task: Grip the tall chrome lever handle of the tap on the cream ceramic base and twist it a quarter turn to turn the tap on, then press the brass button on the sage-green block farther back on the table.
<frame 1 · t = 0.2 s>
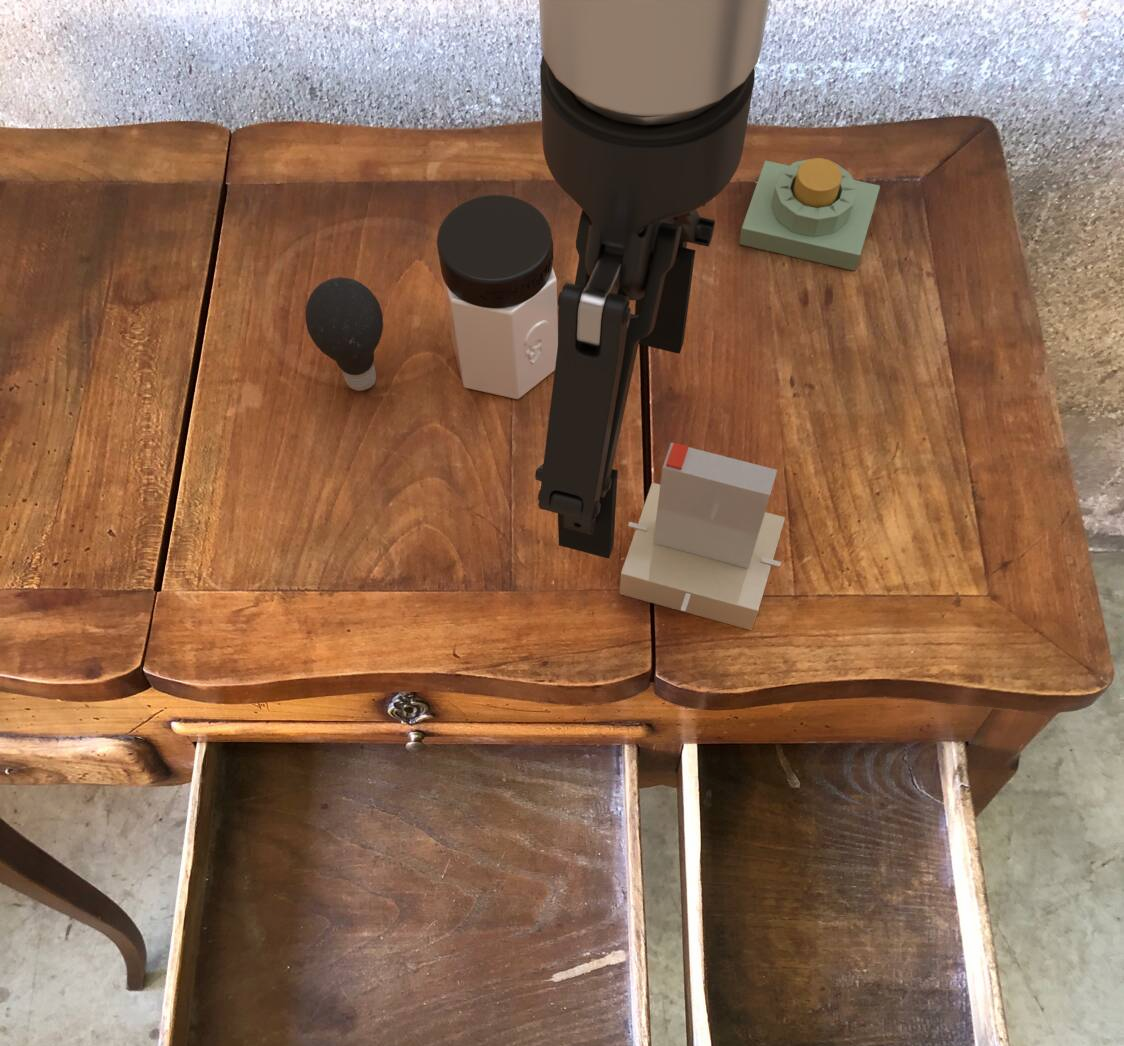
hand: (623, 441, 56), 21 cm above the table, tool pointing down, fingers open, 13 cm apart
button: (817, 183, 85), point 4 cm above the table, slide at 0.1 cm
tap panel: (699, 566, 77), on the table
jar: (505, 358, 85), on the table
tap handle: (711, 507, 70), point 8 cm above the table, hinge at 0.0°
button block: (807, 223, 89), on the table
light bulb: (363, 386, 84), on the table
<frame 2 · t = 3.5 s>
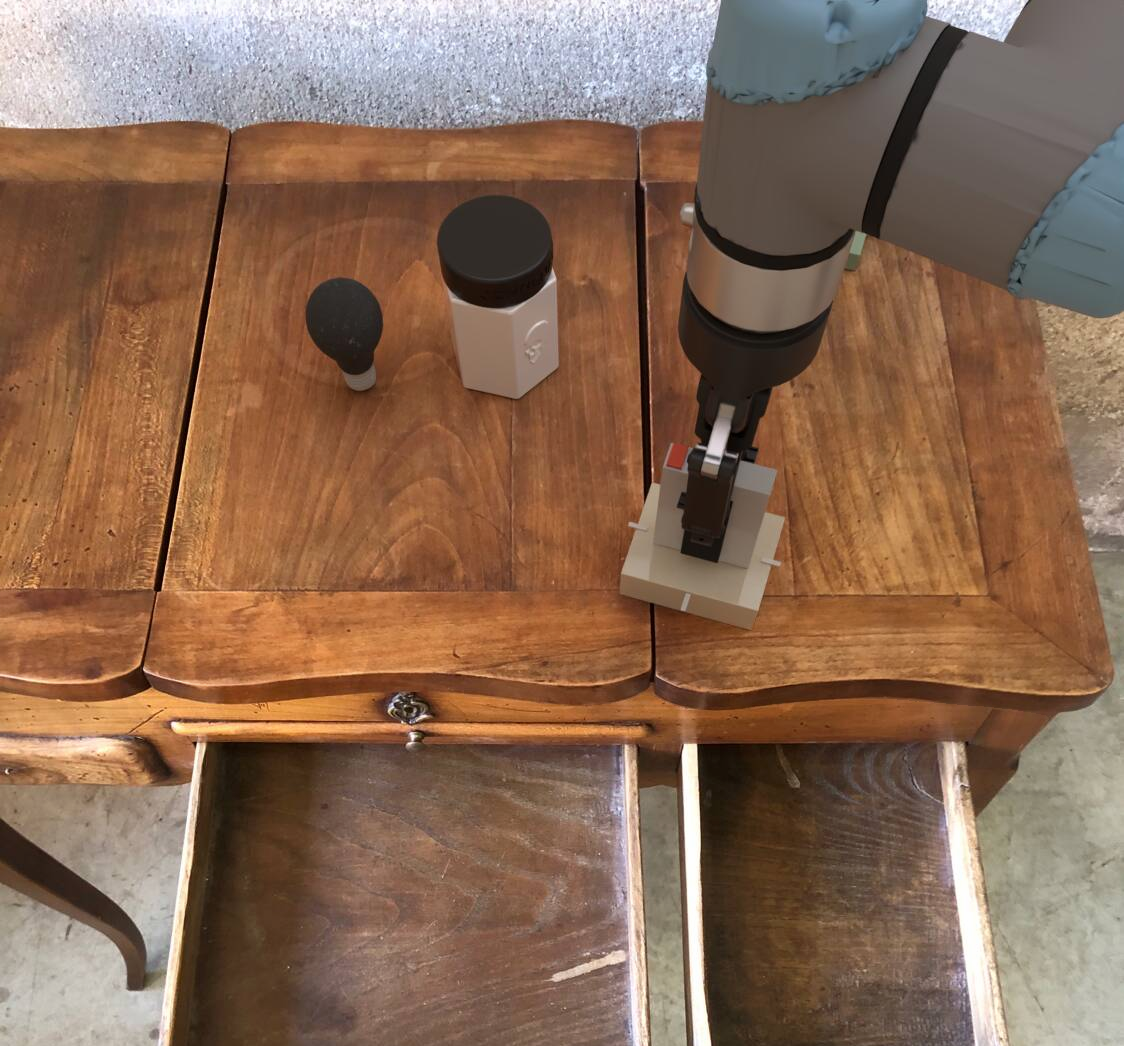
hand: (705, 537, 74), 4 cm above the table, tool pointing down, fingers closed on tap handle, 2 cm apart
tap handle: (711, 507, 70), point 8 cm above the table, hinge at 0.0°, touching gripper
everything else where it was.
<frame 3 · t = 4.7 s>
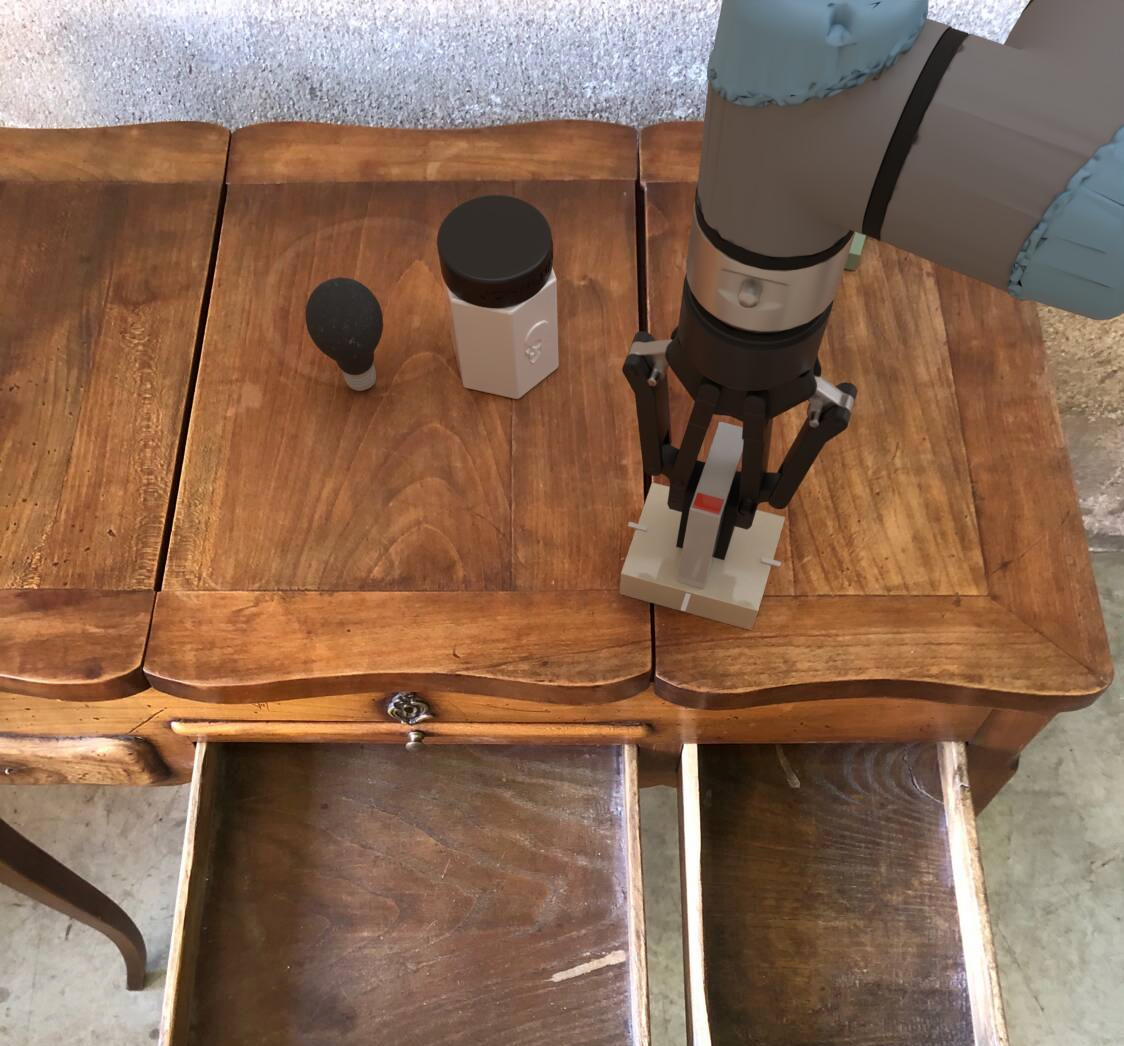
hand: (705, 537, 74), 4 cm above the table, tool pointing down, fingers closed on tap handle, 2 cm apart
tap handle: (711, 507, 70), point 8 cm above the table, hinge at 89.4°, touching gripper
everything else where it was.
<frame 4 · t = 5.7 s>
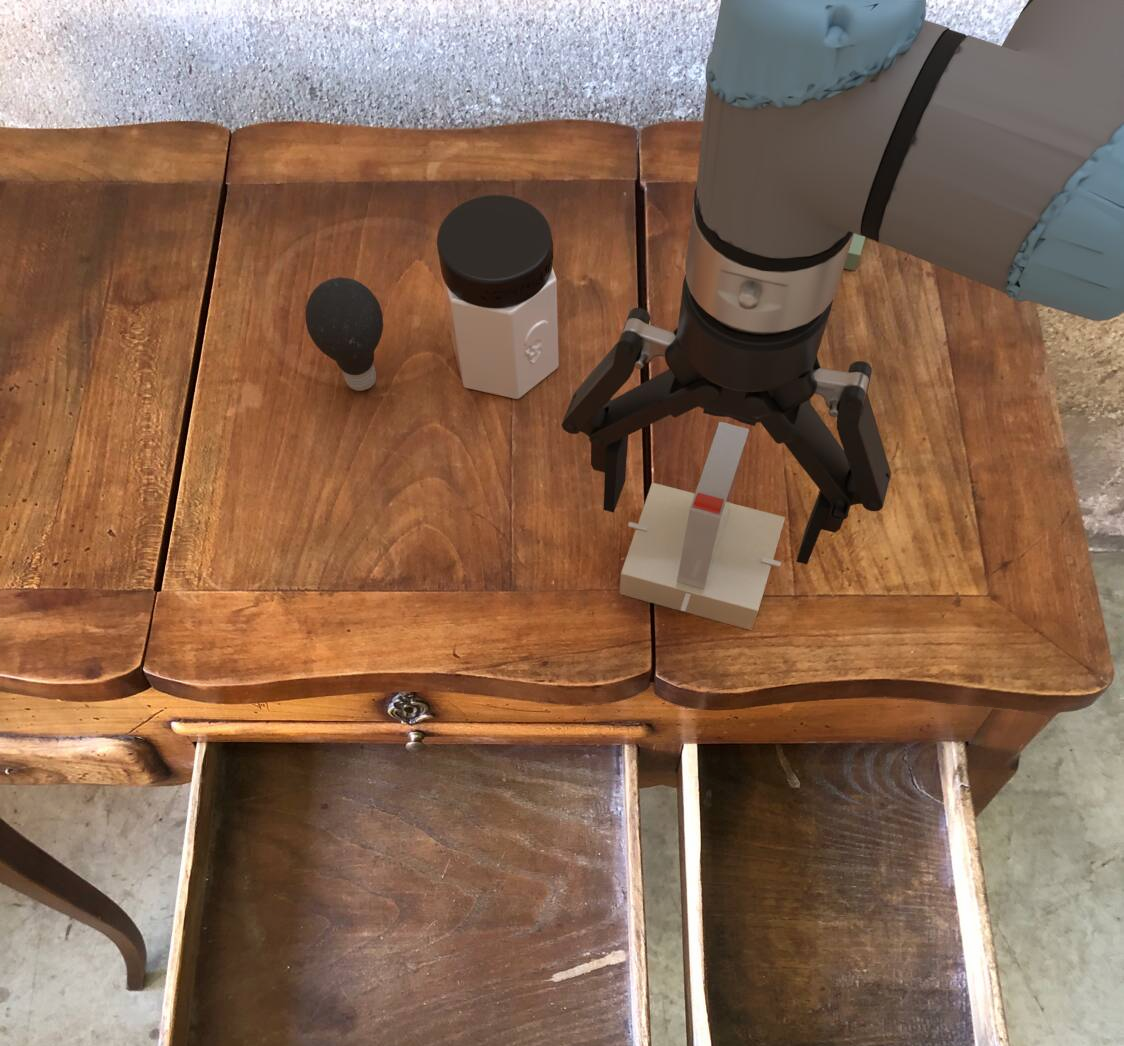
hand: (709, 521, 72), 6 cm above the table, tool pointing down, fingers open, 13 cm apart
tap handle: (711, 507, 70), point 8 cm above the table, hinge at 89.4°
everything else where it was.
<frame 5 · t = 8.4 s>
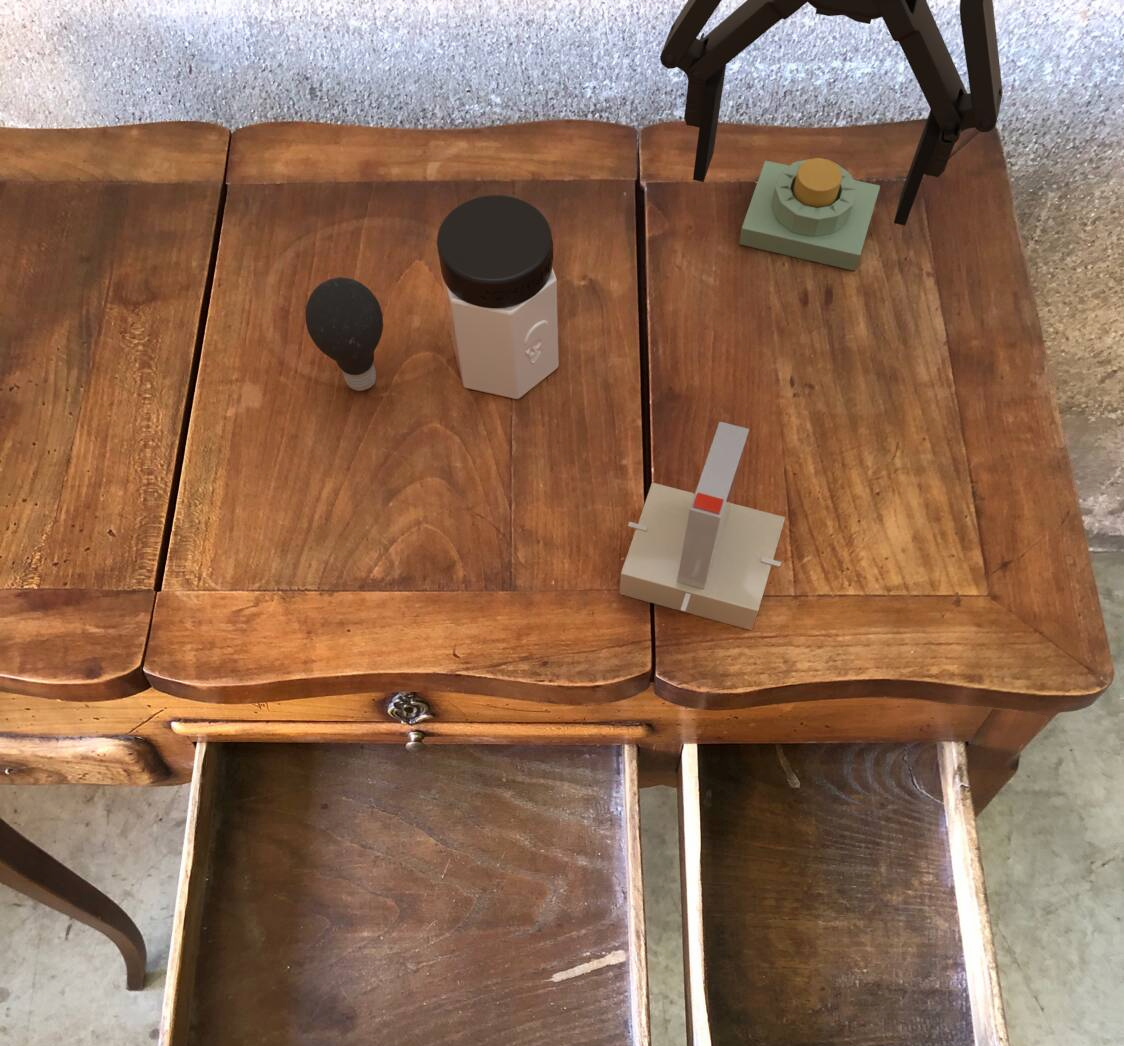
hand: (801, 188, 70), 15 cm above the table, tool pointing down, fingers open, 13 cm apart
nothing on the table moved.
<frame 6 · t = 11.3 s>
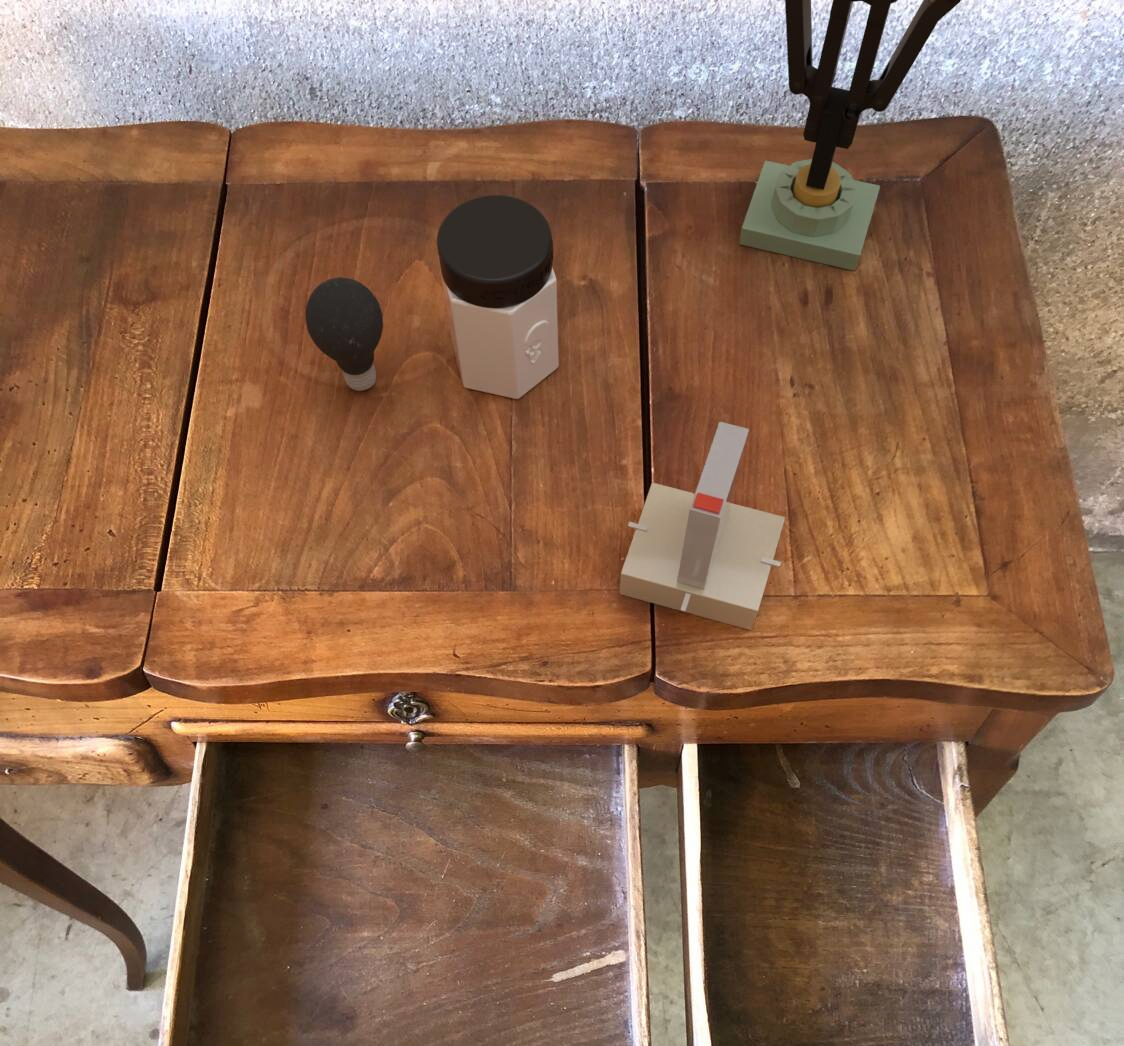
hand: (818, 175, 85), 5 cm above the table, tool pointing down, fingers closed
button: (816, 188, 86), point 4 cm above the table, slide at -0.4 cm, touching gripper
everything else where it was.
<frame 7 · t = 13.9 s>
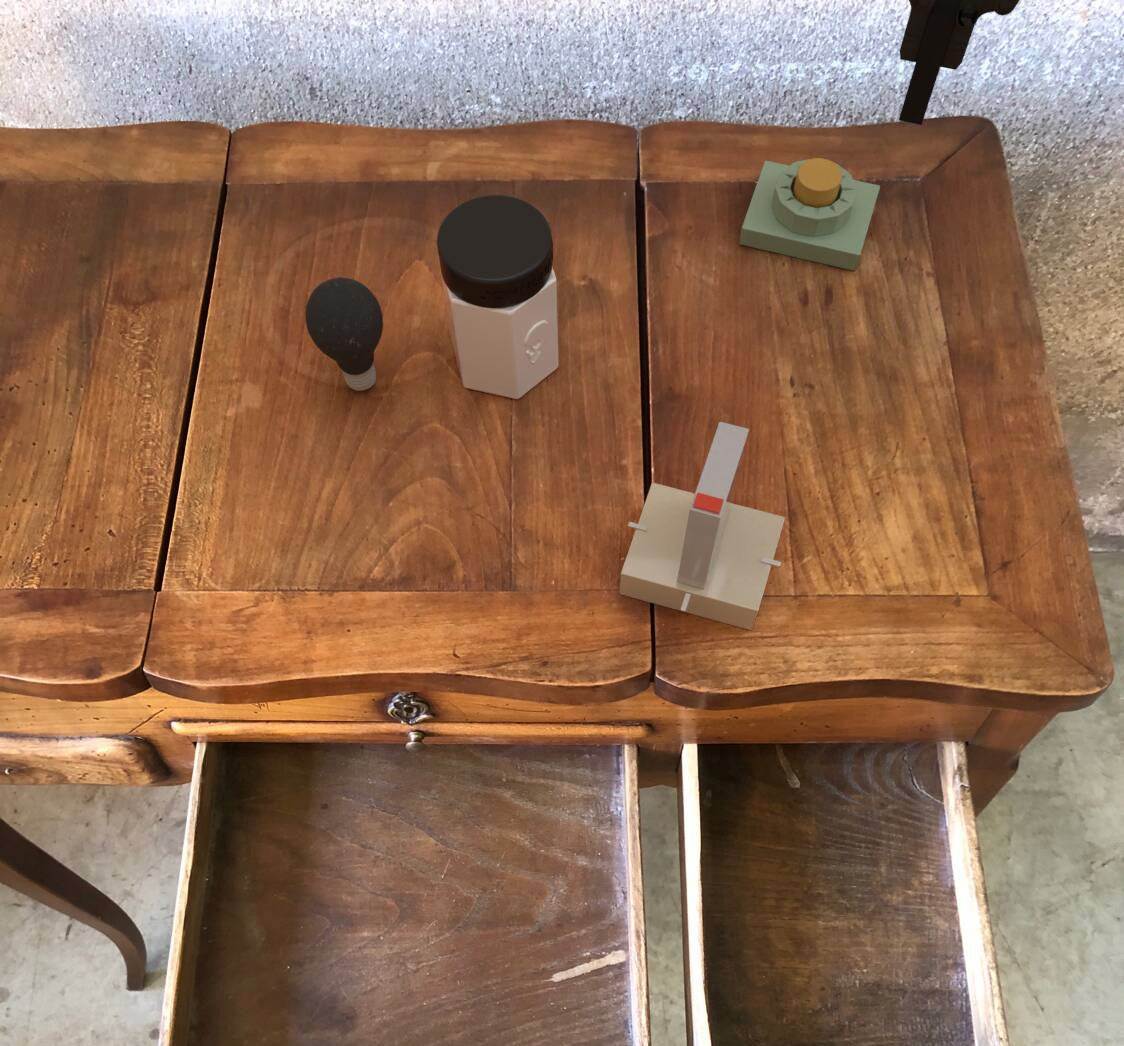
hand: (914, 108, 67), 19 cm above the table, tool pointing down, fingers closed
button: (817, 183, 85), point 4 cm above the table, slide at 0.1 cm
everything else where it was.
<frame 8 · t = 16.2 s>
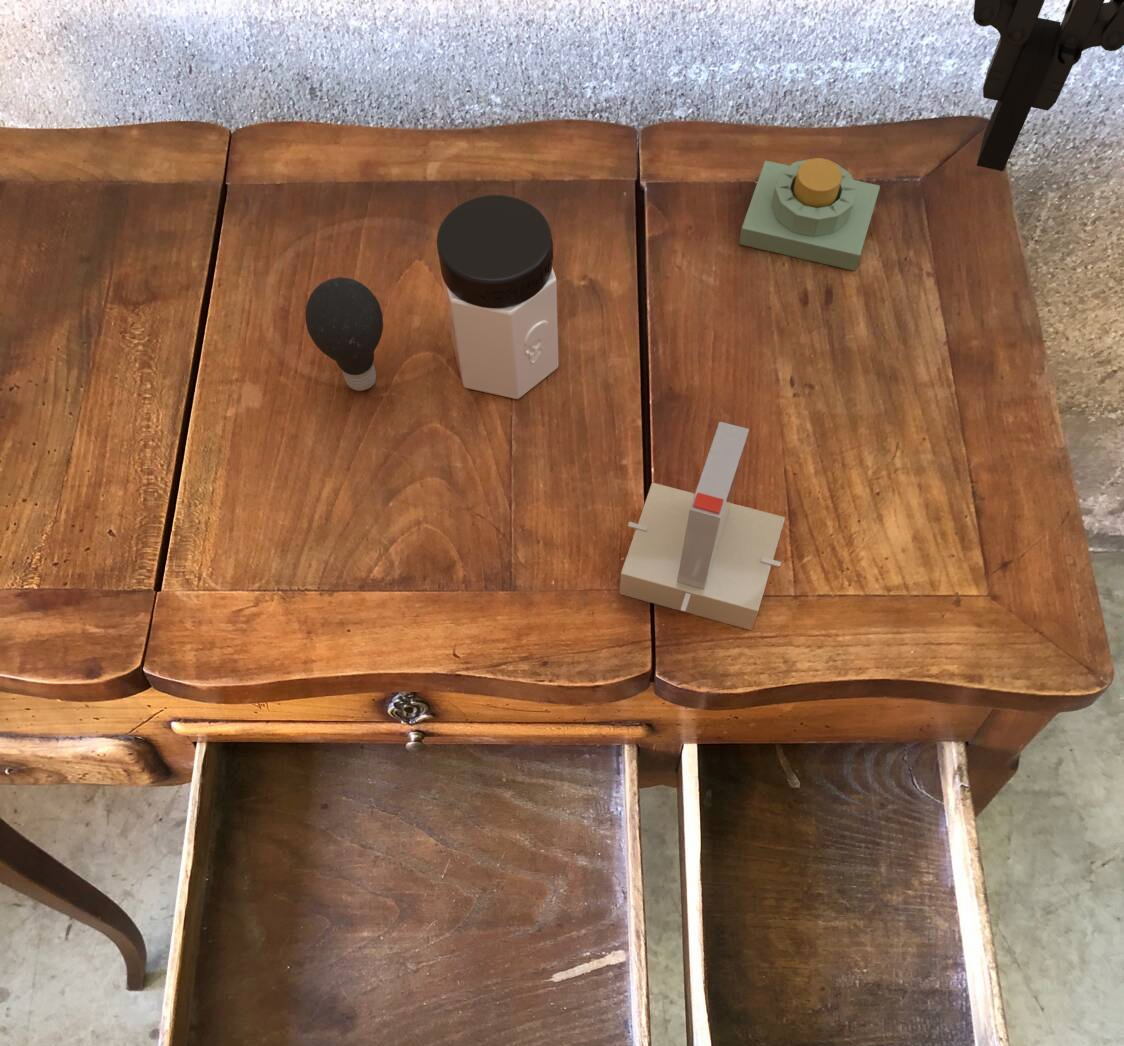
hand: (994, 151, 59), 24 cm above the table, tool pointing down, fingers closed
nothing on the table moved.
at the end: tap handle at +89° (first picture: +0°); button pushed in 1.0 cm at the most during the clip, back to where it started at the end; button slide at 0.1 cm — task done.
